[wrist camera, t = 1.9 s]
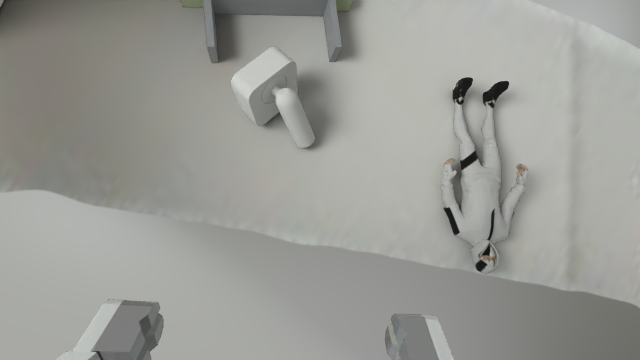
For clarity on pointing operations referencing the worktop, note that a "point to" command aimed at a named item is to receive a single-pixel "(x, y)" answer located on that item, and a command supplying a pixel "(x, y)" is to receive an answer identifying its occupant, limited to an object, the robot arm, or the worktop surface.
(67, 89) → the worktop surface
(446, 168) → the figurine
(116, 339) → the robot arm
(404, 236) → the worktop surface
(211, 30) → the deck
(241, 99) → the wall hook
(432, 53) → the worktop surface
